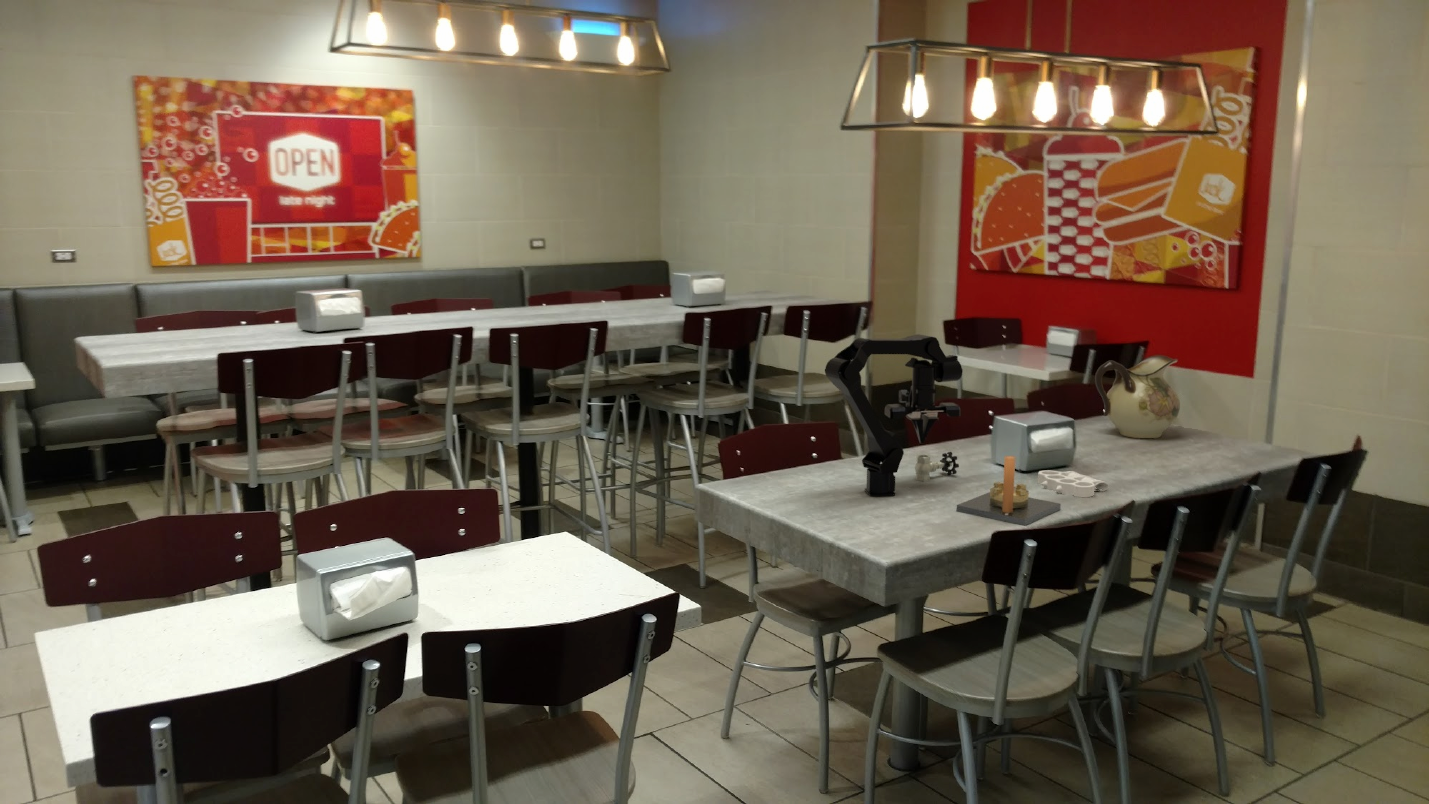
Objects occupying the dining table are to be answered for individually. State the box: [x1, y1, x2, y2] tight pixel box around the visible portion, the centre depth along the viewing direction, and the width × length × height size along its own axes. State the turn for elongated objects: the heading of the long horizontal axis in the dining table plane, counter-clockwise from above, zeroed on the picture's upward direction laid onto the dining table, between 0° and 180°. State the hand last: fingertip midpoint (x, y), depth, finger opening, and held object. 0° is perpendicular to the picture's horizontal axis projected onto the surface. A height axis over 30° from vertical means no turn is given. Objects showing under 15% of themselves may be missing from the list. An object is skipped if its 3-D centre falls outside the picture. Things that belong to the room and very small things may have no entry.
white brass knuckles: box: [1037, 469, 1109, 497], centre depth 284 cm, size 3×18×15 cm
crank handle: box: [989, 455, 1030, 513], centre depth 260 cm, size 14×9×13 cm, turn 163°
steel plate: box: [956, 491, 1061, 527], centre depth 264 cm, size 18×18×2 cm
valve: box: [914, 451, 960, 482], centre depth 295 cm, size 7×7×12 cm
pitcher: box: [1094, 354, 1181, 439], centre depth 345 cm, size 22×24×25 cm
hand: (921, 443), depth 283 cm, fingers closed
